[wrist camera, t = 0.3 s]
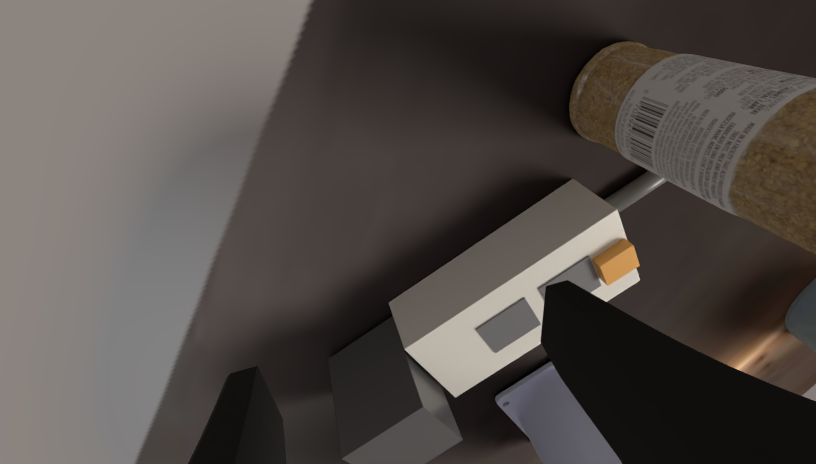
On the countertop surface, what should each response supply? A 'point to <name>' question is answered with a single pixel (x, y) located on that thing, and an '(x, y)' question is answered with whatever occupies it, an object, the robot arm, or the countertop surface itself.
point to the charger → (388, 403)
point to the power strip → (517, 282)
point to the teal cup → (803, 316)
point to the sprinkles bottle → (709, 130)
